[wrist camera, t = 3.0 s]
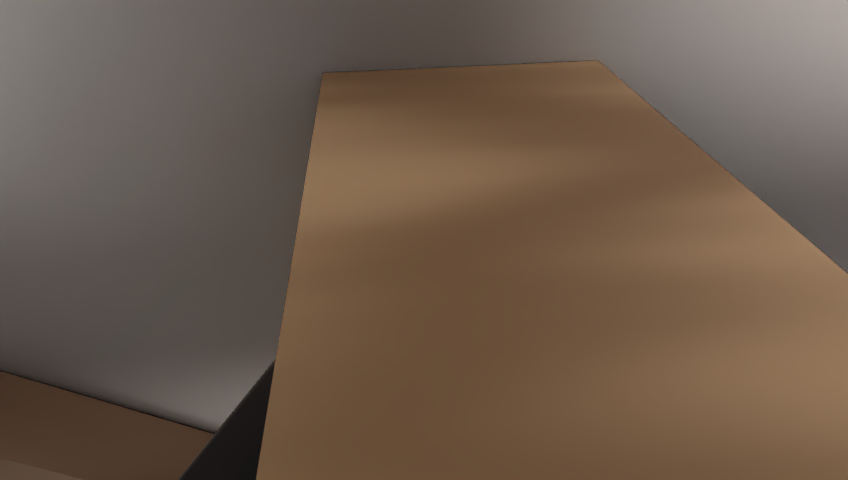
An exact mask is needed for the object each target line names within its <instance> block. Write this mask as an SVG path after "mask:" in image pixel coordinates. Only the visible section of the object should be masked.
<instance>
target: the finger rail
mask: <svg viewBox="0 0 848 480" xmlns="http://www.w3.org/2000/svg"><path fill="white" fill-rule="evenodd" d="M213 436H214V434H212V433H208V432H205V431H201V430H198V429H195V428H191V427H188V426H185V425H181V424H178V423H174V422H171V421H168V420H164V419H161V418H158V417H154V416H151V415H147V414H144V413H141V412H137V411H134V410H131V409H127V408H124V407H120V406H117V405H114V404H110V403H107V402H103V401H100V400H97V399H93V398H90V397H87V396H83V395H80V394H76V393H73V392H70V391H66V390H63V389H60V388H56V387H53V386H49V385H46V384H43V383H39V382H36V381H32V380H29V379H26V378H22V377H19V376H16V375H12V374H9V373H5V372H2V371H0V480H178V479H179V478H180V476H181V475H182V474H183V473H184V472H185V470H186V469H187V468H188V467H189V465H190V464H191V463H192V462H193V460H194V459H195V458H196V457H197V455H198V454H199V453H200V452H201V450H202V449H203V448H204V447H205V445H206V444H207V443H208V442H209V441H210V439H211V438H212V437H213Z"/></svg>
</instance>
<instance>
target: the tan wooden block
mask: <svg viewBox="0 0 848 480" xmlns="http://www.w3.org/2000/svg"><path fill="white" fill-rule="evenodd" d="M256 480H848V273H846V272H845V271H844V270H843V269H842V268H841V267H839V266H838V265H837V264H836V263H835V262H833V261H832V260H831V259H830V258H829V257H828V256H826V255H825V254H824V253H823V252H822V251H821V250H819V249H818V248H817V247H816V246H815V245H814V244H812V243H811V242H810V241H809V240H808V239H807V238H805V237H804V236H803V235H802V234H801V233H800V232H798V231H797V230H796V229H795V228H794V227H793V226H791V225H790V224H789V223H788V222H787V221H786V220H784V219H783V218H782V217H781V216H780V215H778V214H777V213H776V212H775V211H774V210H773V209H771V208H770V207H769V206H768V205H767V204H766V203H764V202H763V201H762V200H761V199H760V198H759V197H757V196H756V195H755V194H754V193H753V192H752V191H750V190H749V189H748V188H747V187H746V186H745V185H743V184H742V183H741V182H740V181H739V180H738V179H736V178H735V177H734V176H733V175H732V174H731V173H729V172H728V171H727V170H726V169H725V168H723V167H722V166H721V165H720V164H719V163H718V162H716V161H715V160H714V159H713V158H712V157H711V156H709V155H708V154H707V153H706V152H705V151H704V150H702V149H701V148H700V147H699V146H698V145H697V144H695V143H694V142H693V141H692V140H691V139H690V138H688V137H687V136H686V135H685V134H684V133H683V132H681V131H680V130H679V129H678V128H677V127H676V126H674V125H673V124H672V123H671V122H670V121H668V120H667V119H666V118H665V117H664V116H663V115H661V114H660V113H659V112H658V111H657V110H656V109H654V108H653V107H652V106H651V105H650V104H649V103H647V102H646V101H645V100H644V99H643V98H642V97H640V96H639V95H638V94H637V93H636V92H635V91H633V90H632V89H631V88H630V87H629V86H628V85H626V84H625V83H624V82H623V81H622V80H621V79H619V78H618V77H617V76H616V75H615V74H613V73H612V72H611V71H610V70H609V69H608V68H606V67H605V66H604V65H603V64H602V63H601V62H599V61H598V60H597V61H575V62H553V63H531V64H509V65H486V66H464V67H442V68H420V69H398V70H376V71H354V72H332V73H323V74H322V81H321V87H320V93H319V99H318V105H317V111H316V117H315V123H314V129H313V135H312V141H311V148H310V154H309V160H308V166H307V172H306V178H305V184H304V190H303V196H302V202H301V208H300V214H299V221H298V227H297V233H296V239H295V245H294V251H293V257H292V263H291V269H290V275H289V281H288V287H287V294H286V300H285V306H284V312H283V318H282V324H281V330H280V336H279V342H278V348H277V354H276V361H275V367H274V373H273V379H272V385H271V391H270V397H269V403H268V409H267V415H266V421H265V427H264V434H263V440H262V446H261V452H260V458H259V464H258V470H257V476H256Z"/></svg>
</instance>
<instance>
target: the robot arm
mask: <svg viewBox="0 0 848 480" xmlns="http://www.w3.org/2000/svg"><path fill="white" fill-rule="evenodd" d="M275 361H276V359H275V360H274V361H273V362H272V364H271V365H270V366H269V367H268V369H267V370H266V371H265V372H264V374H263V375H262V376H261V377H260V379H259V380H258V381H257V382H256V384H255V385H254V386H253V387H252V389H251V390H250V391H249V392H248V393H247V395H246V396H245V397H244V398H243V400H242V401H241V402H240V403H239V405H238V406H237V407H236V408H235V410H234V411H233V412H232V413H231V415H230V416H229V417H228V418H227V419H226V421H225V422H224V423H223V424H222V426H221V427H220V428H219V429H218V431H217V432H216V433H215V434H214V436H213V437H212V438H211V439H210V441H209V442H208V443H207V444H206V445H205V447H204V448H203V449H202V450H201V452H200V453H199V454H198V455H197V457H196V458H195V459H194V460H193V462H192V463H191V464H190V465H189V467H188V468H187V469H186V470H185V472H184V473H183V474H182V475H181V476H180V478H179V479H178V480H256V476H257V470H258V464H259V458H260V452H261V446H262V440H263V434H264V427H265V421H266V415H267V409H268V403H269V397H270V391H271V385H272V379H273V373H274V367H275Z"/></svg>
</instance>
